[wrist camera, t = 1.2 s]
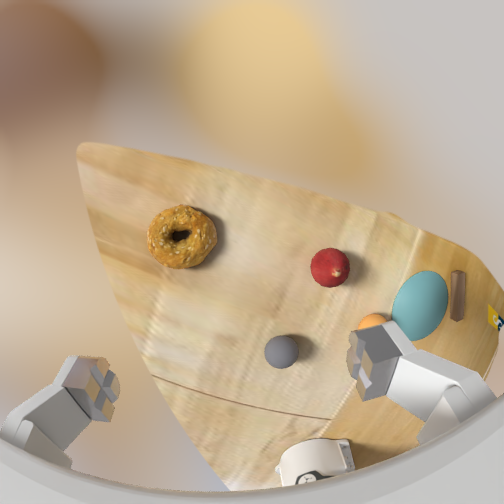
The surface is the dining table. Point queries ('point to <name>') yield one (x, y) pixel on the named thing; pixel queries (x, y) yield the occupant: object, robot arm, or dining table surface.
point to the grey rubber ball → (281, 352)
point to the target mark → (420, 304)
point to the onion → (330, 267)
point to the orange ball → (371, 321)
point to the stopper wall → (457, 295)
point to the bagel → (186, 249)
